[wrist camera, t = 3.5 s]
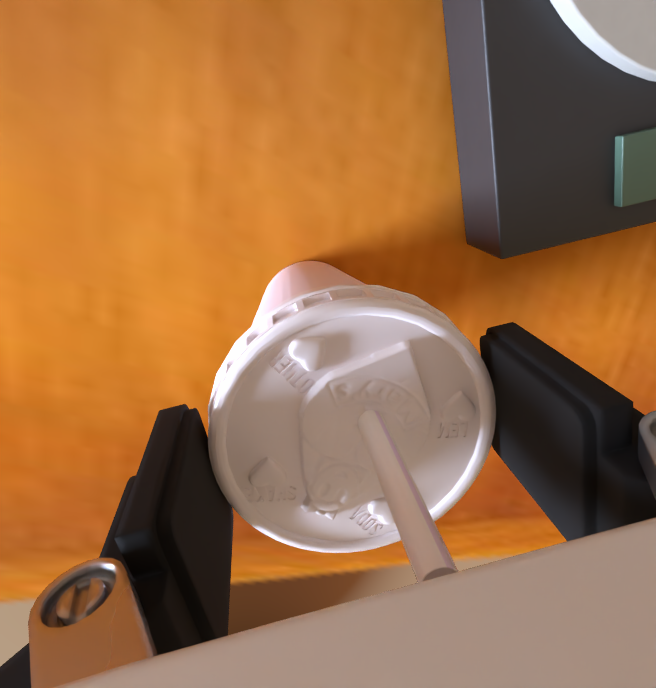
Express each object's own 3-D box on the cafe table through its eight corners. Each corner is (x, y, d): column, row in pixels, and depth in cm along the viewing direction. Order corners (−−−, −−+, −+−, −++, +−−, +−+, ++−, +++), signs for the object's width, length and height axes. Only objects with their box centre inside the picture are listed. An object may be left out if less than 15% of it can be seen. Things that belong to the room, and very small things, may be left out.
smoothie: (417, 265, 20) (735, 489, 7) (347, 402, 21) (492, 788, 9) (264, 195, 18) (297, 317, 5) (201, 350, 20) (106, 737, 7)
